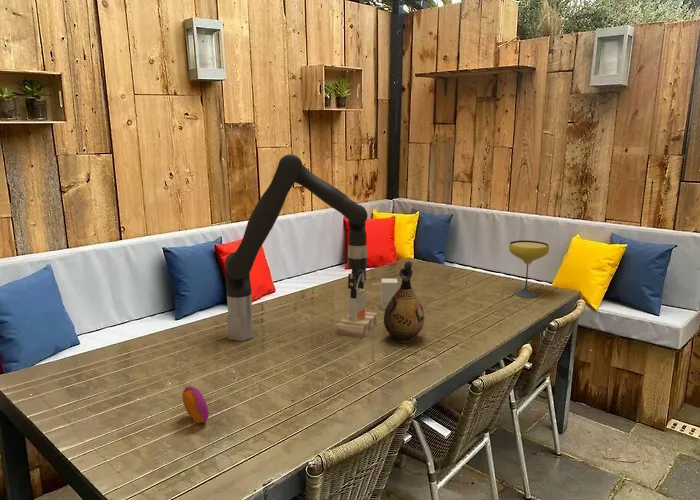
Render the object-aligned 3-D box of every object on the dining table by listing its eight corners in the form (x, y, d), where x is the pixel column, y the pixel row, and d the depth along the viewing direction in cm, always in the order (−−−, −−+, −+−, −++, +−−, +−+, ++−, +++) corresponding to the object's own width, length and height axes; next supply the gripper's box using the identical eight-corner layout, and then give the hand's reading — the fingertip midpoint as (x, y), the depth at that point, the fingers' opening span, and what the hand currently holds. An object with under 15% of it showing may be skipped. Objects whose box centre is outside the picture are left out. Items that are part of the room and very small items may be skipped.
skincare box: (356, 321, 215) (356, 292, 213) (348, 319, 218) (348, 290, 215) (365, 317, 220) (365, 289, 217) (357, 315, 222) (357, 287, 220)
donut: (214, 412, 154) (212, 379, 152) (207, 429, 145) (204, 395, 143) (186, 412, 154) (183, 380, 152) (177, 430, 145) (174, 396, 143)
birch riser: (362, 337, 209) (362, 327, 209) (336, 334, 213) (336, 324, 212) (377, 322, 226) (377, 313, 225) (352, 319, 230) (352, 310, 229)
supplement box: (397, 309, 242) (398, 282, 239) (381, 309, 242) (381, 282, 239) (396, 304, 249) (397, 278, 246) (380, 304, 249) (380, 278, 246)
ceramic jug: (422, 347, 199) (424, 269, 193) (380, 344, 202) (381, 267, 196) (425, 331, 215) (427, 258, 209) (387, 328, 218) (387, 256, 212)
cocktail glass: (498, 291, 268) (501, 242, 262) (526, 287, 275) (530, 239, 270) (524, 302, 252) (527, 249, 246) (553, 296, 259) (557, 245, 254)
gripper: (354, 251, 221) (354, 289, 224) (342, 258, 208) (341, 299, 211) (372, 252, 218) (371, 291, 222) (360, 260, 205) (360, 301, 209)
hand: (357, 295), depth 216 cm, fingers open, 8 cm apart
